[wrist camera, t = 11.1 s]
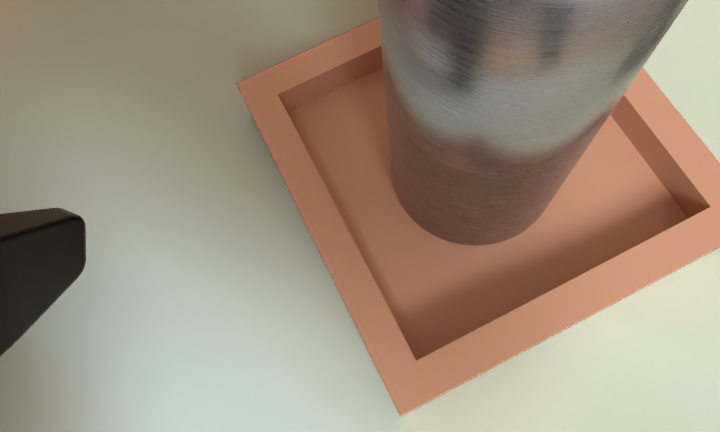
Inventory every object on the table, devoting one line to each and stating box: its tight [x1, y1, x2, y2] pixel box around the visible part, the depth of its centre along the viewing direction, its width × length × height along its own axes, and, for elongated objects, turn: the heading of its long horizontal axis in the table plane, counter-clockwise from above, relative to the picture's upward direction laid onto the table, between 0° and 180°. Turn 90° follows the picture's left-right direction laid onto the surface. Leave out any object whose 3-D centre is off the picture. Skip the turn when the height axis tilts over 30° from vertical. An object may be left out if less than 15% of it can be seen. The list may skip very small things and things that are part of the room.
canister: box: [378, 0, 688, 246], centre depth 12 cm, size 5×5×13 cm
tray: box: [236, 17, 720, 416], centre depth 18 cm, size 11×11×2 cm
